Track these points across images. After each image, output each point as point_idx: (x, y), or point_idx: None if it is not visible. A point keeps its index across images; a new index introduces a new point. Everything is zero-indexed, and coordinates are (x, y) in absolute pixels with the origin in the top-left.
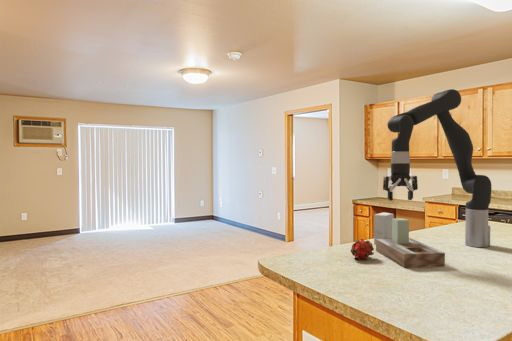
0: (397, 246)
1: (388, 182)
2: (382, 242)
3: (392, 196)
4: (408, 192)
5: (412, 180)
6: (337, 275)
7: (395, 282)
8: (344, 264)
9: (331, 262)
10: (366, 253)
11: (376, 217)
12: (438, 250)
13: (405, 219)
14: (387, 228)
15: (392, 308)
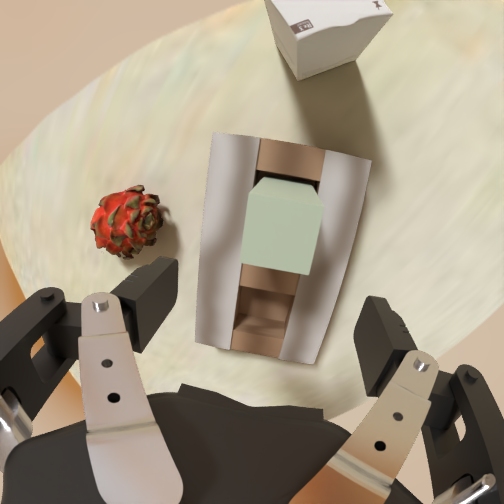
0: (223, 270)
1: (35, 415)
2: (205, 197)
3: (159, 323)
4: (384, 350)
5: (437, 502)
6: None
7: (147, 370)
8: (88, 252)
9: (68, 229)
10: (125, 258)
11: (269, 6)
12: (317, 344)
13: (306, 249)
14: (320, 56)
15: None
